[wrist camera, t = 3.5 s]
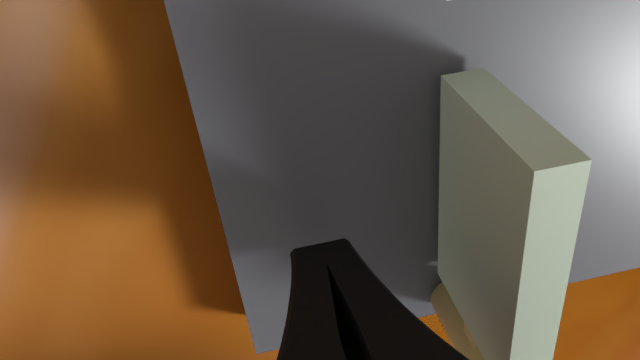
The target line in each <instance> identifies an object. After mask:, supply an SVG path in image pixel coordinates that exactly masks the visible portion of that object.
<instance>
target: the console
mask: <svg viewBox="0 0 640 360" xmlns="http://www.w3.org/2000/svg"><path fill="white" fill-rule="evenodd" d="M164 4H165V7H166V11H167V15H168V19H169V23H170V27H171V30H172V34H173V38H174V42H175V46H176V49H177V53H178V57H179V61H180V65H181V69H182V72H183V76H184V80H185V84H186V88H187V91H188V95H189V99H190V103H191V107H192V111H193V114H194V118H195V122H196V126H197V130H198V134H199V137H200V141H201V145H202V149H203V153H204V156H205V160H206V164H207V168H208V172H209V176H210V179H211V183H212V187H213V191H214V195H215V198H216V202H217V206H218V210H219V214H220V218H221V221H222V225H223V229H224V233H225V237H226V240H227V244H228V248H229V252H230V256H231V260H232V263H233V267H234V271H235V275H236V279H237V283H238V286H239V290H240V294H241V298H242V302H243V305H244V309H245V313H246V317H247V321H248V325H249V328H250V332H251V336H252V340H253V344H254V347H255V351H256V354H259V353H263V352H268V351H272V350H277V349H280V345H281V341H282V336H283V332H284V327H285V323H286V318H287V311H288V304H289V297H290V289H291V257H290V253H291V252H292V251H293V249H295V248H300V247H305V246H309V245H314V244H319V243H324V242H328V241H333V240H338V239H343V238H345V239H347V240H348V241H350V243H351V244H352V246H353V247H354V249H355V250H356V252H357V253H358V254H359V256H360V257H361V258H362V259H363V261H364V262H365V263H366V264H367V266H368V267H369V268H370V269H371V270H372V272H373V273H374V274H375V275H376V276H377V277H378V279H379V280H380V281H381V282H382V283H383V284H384V285H385V286H386V287H387V288H388V289H389V290H390V291H391V292H392V293H393V295H394V296H395V297H396V298H397V299H398V300H399V301H400V302H401V303H402V304H403V305H404V306H405V307H406V308H407V309H409V310H410V311H411V312H412V313H413V314H414V315H415V316H416V317H417V318H418V317H422V316H427V315H431V314H436V312H435V310H434V308H433V306H432V304H431V295H432V292H433V291H434V289H435V288H436V287H437V286H438V285H439V284H440V283H442V280H441V278H440V276H439V275H438V218H439V156H440V94H441V75H446V74H452V73H457V72H463V71H468V70H474V69H479V68H484V69H485V70H487V71H488V72H489V73H490V74H491V75H493V76H494V77H495V78H496V79H497V80H498V81H500V82H501V83H502V84H503V85H504V86H506V87H507V88H508V89H509V90H510V91H511V92H513V93H514V94H515V95H516V96H517V97H519V98H520V99H521V100H522V101H523V102H524V103H526V104H527V105H528V106H529V107H530V108H531V109H533V110H534V111H535V112H536V113H537V114H539V115H540V116H541V117H542V118H543V119H544V120H546V121H547V122H548V123H549V124H550V125H552V126H553V127H554V128H555V129H556V130H557V131H559V132H560V133H561V134H562V135H563V136H565V137H566V138H567V139H568V140H569V141H570V142H572V143H573V144H574V145H575V146H576V147H577V148H579V149H580V150H581V151H582V152H583V153H585V154H586V155H587V156H588V157H589V158H590V159H592V162H591V167H590V172H589V177H588V183H587V188H586V193H585V198H584V203H583V208H582V213H581V218H580V223H579V228H578V233H577V238H576V243H575V248H574V254H573V259H572V264H571V269H570V274H569V279H568V283H573V282H577V281H582V280H586V279H590V278H595V277H599V276H604V275H608V274H613V273H617V272H621V271H626V270H630V269H635V268H639V267H640V0H164Z"/></svg>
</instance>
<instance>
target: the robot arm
mask: <svg viewBox="0 0 640 360" xmlns="http://www.w3.org/2000/svg"><path fill="white" fill-rule="evenodd" d="M290 257H291V289H290V297H289V304H288V311H287V318H286V323H285V327H284V332H283V336H282V341H281V345H280V349H279V353H278V357H277V360H469V359H468V358H467V357H465V356H464V355H463V354H461V353H460V352H459V351H457V350H456V349H455V348H453V347H452V346H451V345H449V344H448V343H447V342H445V341H444V340H443V339H442V338H440V337H439V336H438V335H437V334H435V333H434V332H433V331H432V330H431V329H430V328H428V327H427V326H426V325H425V324H424V323H423V322H422V321H420V320H419V319H418V318H417V317H416V316H415V315H414V314H413V313H412V312H411V311H410V310H409V309H407V308H406V307H405V306H404V305H403V304H402V303H401V302H400V301H399V300H398V299H397V298H396V297H395V296H394V295H393V293H392V292H391V291H390V290H389V289H388V288H387V287H386V286H385V285H384V284H383V283H382V282H381V281H380V280H379V279H378V277H377V276H376V275H375V274H374V273H373V272H372V270H371V269H370V268H369V267H368V266H367V264H366V263H365V262H364V261H363V259H362V258H361V257H360V256H359V254H358V253H357V252H356V250H355V249H354V247H353V246H352V244H351V243H350V241H348V240H347V239H345V238H343V239H338V240H333V241H328V242H324V243H319V244H314V245H309V246H305V247H300V248H295V249H293V251H292V252H291V253H290Z"/></svg>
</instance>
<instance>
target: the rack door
mask: <svg viewBox="0 0 640 360" xmlns="http://www.w3.org/2000/svg"><path fill="white" fill-rule="evenodd" d="M591 162H592V159H590V158H589V157H588V156H587V155H586V154H585V153H583V152H582V151H581V150H580V149H579V148H577V147H576V146H575V145H574V144H573V143H572V142H570V141H569V140H568V139H567V138H566V137H565V136H563V135H562V134H561V133H560V132H559V131H557V130H556V129H555V128H554V127H553V126H552V125H550V124H549V123H548V122H547V121H546V120H544V119H543V118H542V117H541V116H540V115H539V114H537V113H536V112H535V111H534V110H533V109H531V108H530V107H529V106H528V105H527V104H526V103H524V102H523V101H522V100H521V99H520V98H519V97H517V96H516V95H515V94H514V93H513V92H511V91H510V90H509V89H508V88H507V87H506V86H504V85H503V84H502V83H501V82H500V81H498V80H497V79H496V78H495V77H494V76H493V75H491V74H490V73H489V72H488V71H487V70H485V69H484V68H479V69H474V70H468V71H463V72H457V73H452V74H446V75H441V94H440V156H439V218H438V275H439V276H440V278H441V280H442V283H440V284H439V285H438V286H437V287H436V288H435V289H434V291H433V292H432V295H431V304H432V306H433V308H434V310H435V312H436V314H437V316H438V318H439V320H440V322H441V324H442V326H443V328H444V330H445V332H446V334H447V336H448V338H449V340H450V342H451V344H452V346H453V348H455V349H456V350H457V351H459V352H460V353H461V354H463V355H464V356H465V357H467V358H468V359H469V360H553V355H554V350H555V345H556V340H557V335H558V330H559V324H560V319H561V314H562V309H563V304H564V299H565V294H566V289H567V284H568V279H569V274H570V269H571V264H572V259H573V254H574V248H575V243H576V238H577V233H578V228H579V223H580V218H581V213H582V208H583V203H584V198H585V193H586V188H587V183H588V177H589V172H590V167H591Z"/></svg>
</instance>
